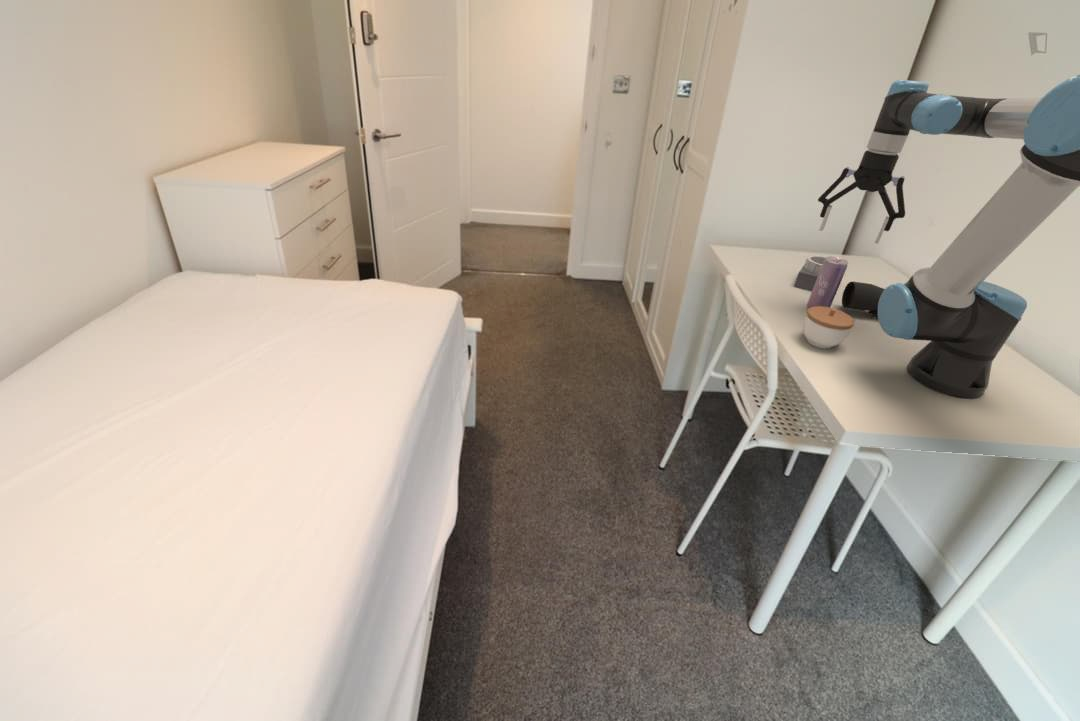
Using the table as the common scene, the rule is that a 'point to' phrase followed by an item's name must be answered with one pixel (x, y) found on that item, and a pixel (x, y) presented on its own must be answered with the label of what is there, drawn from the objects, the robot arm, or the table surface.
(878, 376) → the table surface
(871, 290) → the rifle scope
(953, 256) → the robot arm
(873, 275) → the table surface
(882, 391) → the table surface
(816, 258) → the grey socket block
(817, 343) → the lidded jar
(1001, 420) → the table surface
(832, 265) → the beverage can
